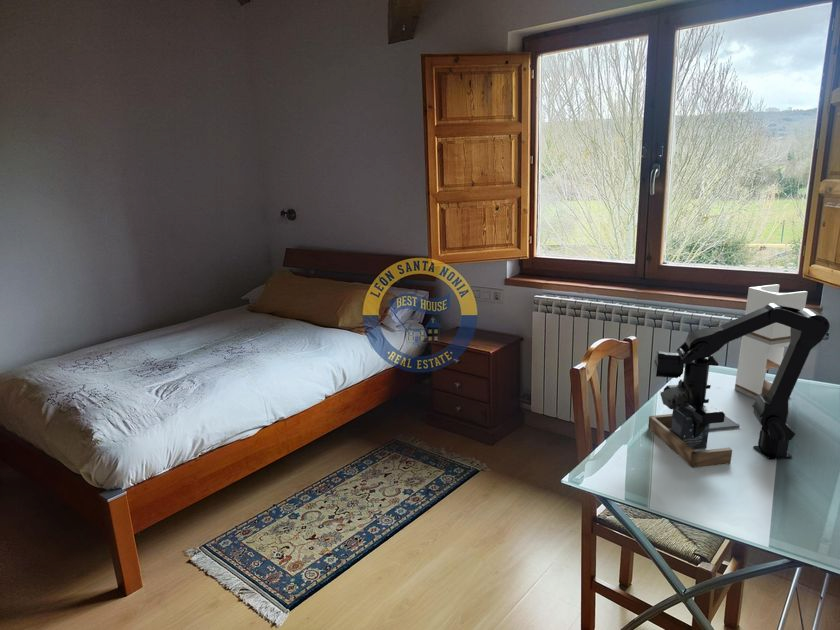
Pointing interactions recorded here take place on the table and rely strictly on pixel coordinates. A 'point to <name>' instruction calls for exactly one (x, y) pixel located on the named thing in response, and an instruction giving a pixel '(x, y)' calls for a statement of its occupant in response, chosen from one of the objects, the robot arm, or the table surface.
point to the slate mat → (723, 425)
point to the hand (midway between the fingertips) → (689, 431)
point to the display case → (764, 340)
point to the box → (688, 428)
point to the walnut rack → (693, 458)
